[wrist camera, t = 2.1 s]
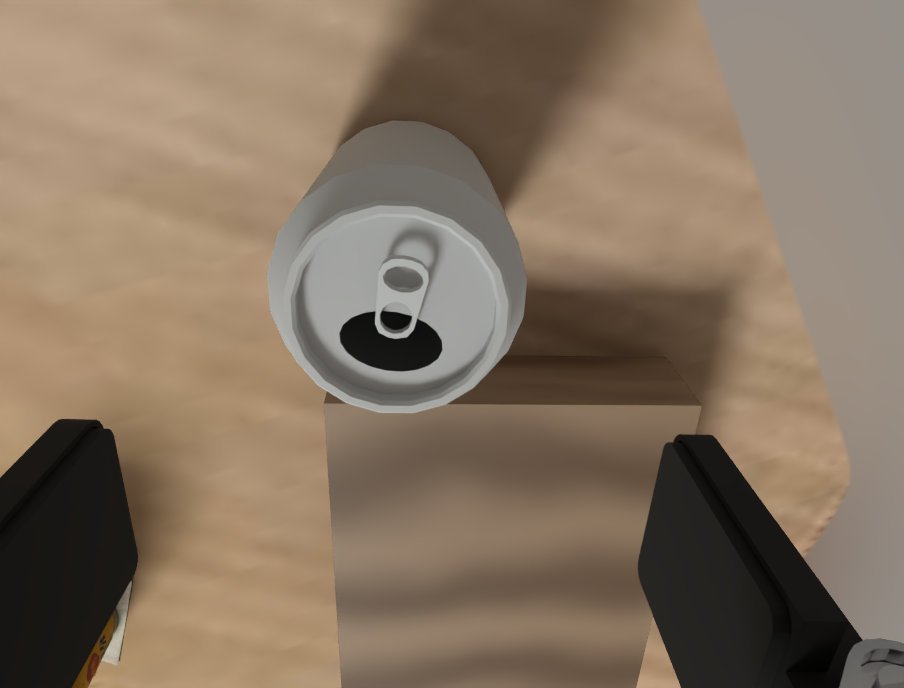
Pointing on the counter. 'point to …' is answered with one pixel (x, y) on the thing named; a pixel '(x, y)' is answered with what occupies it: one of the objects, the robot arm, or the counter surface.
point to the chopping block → (502, 526)
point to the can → (398, 272)
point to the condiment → (106, 643)
